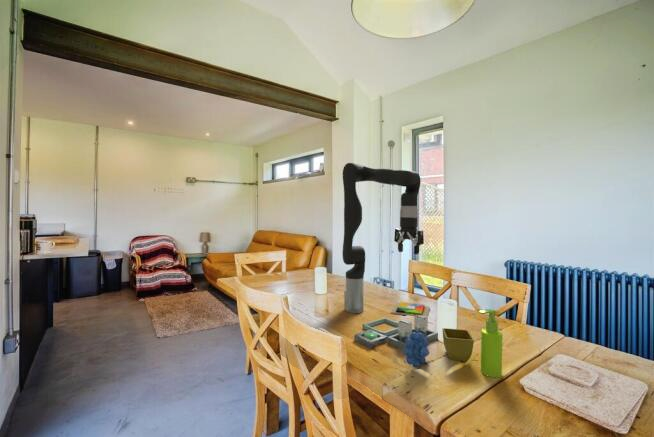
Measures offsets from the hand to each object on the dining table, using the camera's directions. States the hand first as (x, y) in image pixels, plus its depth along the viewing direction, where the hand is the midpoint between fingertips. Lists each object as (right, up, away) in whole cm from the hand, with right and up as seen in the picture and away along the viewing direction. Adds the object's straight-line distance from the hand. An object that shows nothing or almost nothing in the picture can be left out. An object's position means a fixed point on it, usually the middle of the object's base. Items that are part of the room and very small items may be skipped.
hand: (408, 253), depth 136 cm
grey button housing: (-19, -33, -17) cm, 42 cm away
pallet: (-3, -33, -17) cm, 37 cm away
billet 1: (-6, -32, -20) cm, 38 cm away
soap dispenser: (+16, -34, -38) cm, 53 cm away
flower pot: (+9, -34, -29) cm, 46 cm away
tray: (-12, -33, -5) cm, 35 cm away
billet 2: (+1, -32, -14) cm, 35 cm away
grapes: (-6, -34, -36) cm, 50 cm away
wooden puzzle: (+7, -33, +21) cm, 40 cm away
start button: (-19, -33, -17) cm, 41 cm away
